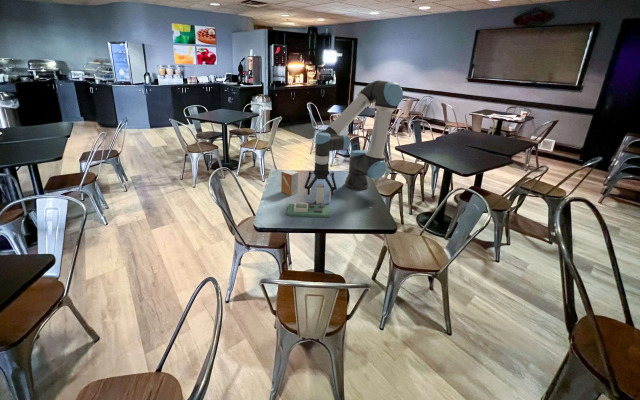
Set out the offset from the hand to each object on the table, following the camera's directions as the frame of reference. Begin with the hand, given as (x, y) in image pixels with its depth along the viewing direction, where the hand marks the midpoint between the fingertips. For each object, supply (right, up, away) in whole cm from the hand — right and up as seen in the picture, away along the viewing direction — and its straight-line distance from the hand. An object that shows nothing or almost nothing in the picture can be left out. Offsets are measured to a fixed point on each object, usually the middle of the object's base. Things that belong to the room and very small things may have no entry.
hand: (319, 200), depth 180 cm
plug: (0, -1, +1) cm, 1 cm away
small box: (-18, +5, +12) cm, 22 cm away
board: (-6, -6, -11) cm, 13 cm away
